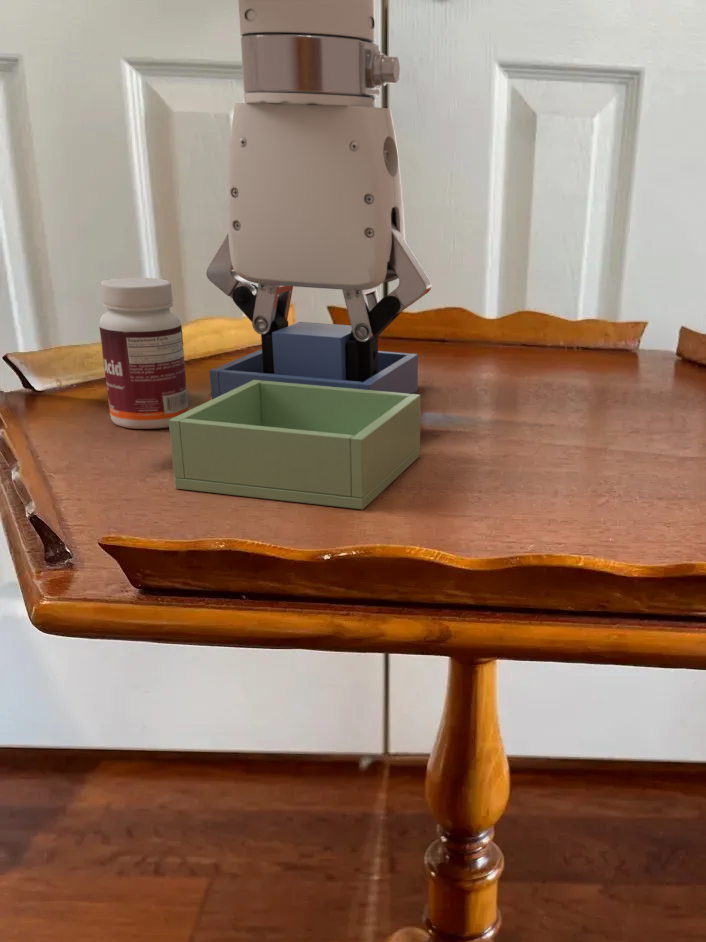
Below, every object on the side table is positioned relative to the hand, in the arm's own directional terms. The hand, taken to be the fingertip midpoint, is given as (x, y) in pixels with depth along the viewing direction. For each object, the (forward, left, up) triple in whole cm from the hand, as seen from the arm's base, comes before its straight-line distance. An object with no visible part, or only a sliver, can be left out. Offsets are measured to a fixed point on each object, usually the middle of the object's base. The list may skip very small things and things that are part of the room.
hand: (321, 395), depth 66 cm
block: (0, 0, 0) cm, 0 cm away
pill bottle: (-10, -5, -2) cm, 11 cm away
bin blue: (0, 0, -1) cm, 1 cm away
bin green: (+3, -12, -1) cm, 12 cm away
